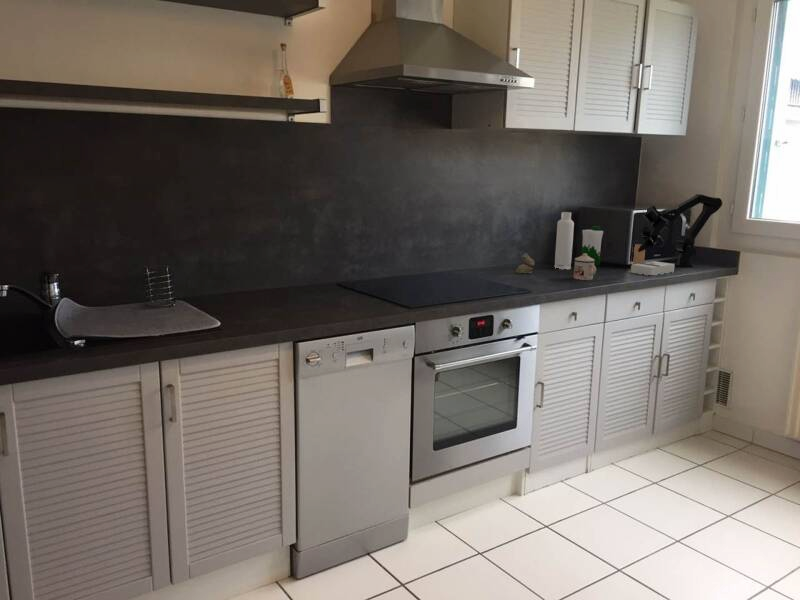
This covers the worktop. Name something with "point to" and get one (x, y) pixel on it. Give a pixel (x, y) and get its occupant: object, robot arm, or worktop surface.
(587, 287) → the worktop surface
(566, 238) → the bottle
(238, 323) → the worktop surface
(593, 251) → the white green tumbler
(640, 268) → the white flat block
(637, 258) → the tan upright block
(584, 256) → the teacup with lid
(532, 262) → the chocolate bunny
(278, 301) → the worktop surface
